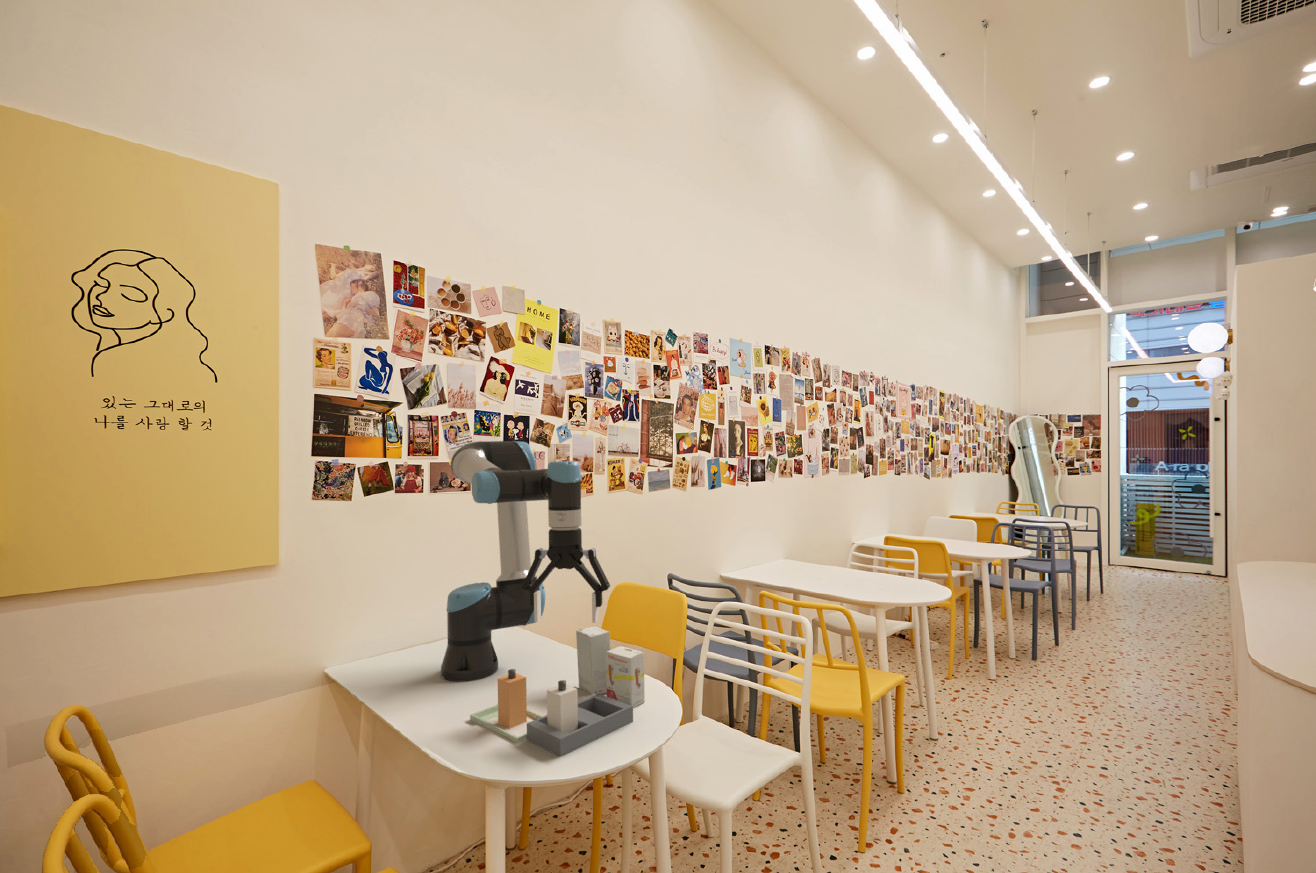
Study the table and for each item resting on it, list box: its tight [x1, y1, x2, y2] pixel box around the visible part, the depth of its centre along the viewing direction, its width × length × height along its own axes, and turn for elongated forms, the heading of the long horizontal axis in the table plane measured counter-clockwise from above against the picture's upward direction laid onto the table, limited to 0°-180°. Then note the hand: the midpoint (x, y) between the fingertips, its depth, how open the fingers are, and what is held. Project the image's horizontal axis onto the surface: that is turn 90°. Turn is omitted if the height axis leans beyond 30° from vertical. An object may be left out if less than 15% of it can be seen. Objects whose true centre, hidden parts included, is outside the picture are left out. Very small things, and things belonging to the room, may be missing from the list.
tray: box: [469, 704, 544, 743], centre depth 132 cm, size 18×10×2 cm, turn 48°
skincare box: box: [575, 626, 611, 696], centre depth 152 cm, size 8×6×15 cm
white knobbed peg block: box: [546, 679, 579, 734], centre depth 124 cm, size 4×4×12 cm
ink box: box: [606, 645, 646, 708], centre depth 144 cm, size 9×5×12 cm, turn 49°
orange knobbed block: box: [497, 668, 528, 729], centre depth 133 cm, size 4×4×12 cm
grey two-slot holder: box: [526, 694, 634, 758], centre depth 128 cm, size 11×20×4 cm, turn 138°
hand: (566, 620), depth 138 cm, fingers open, 13 cm apart
